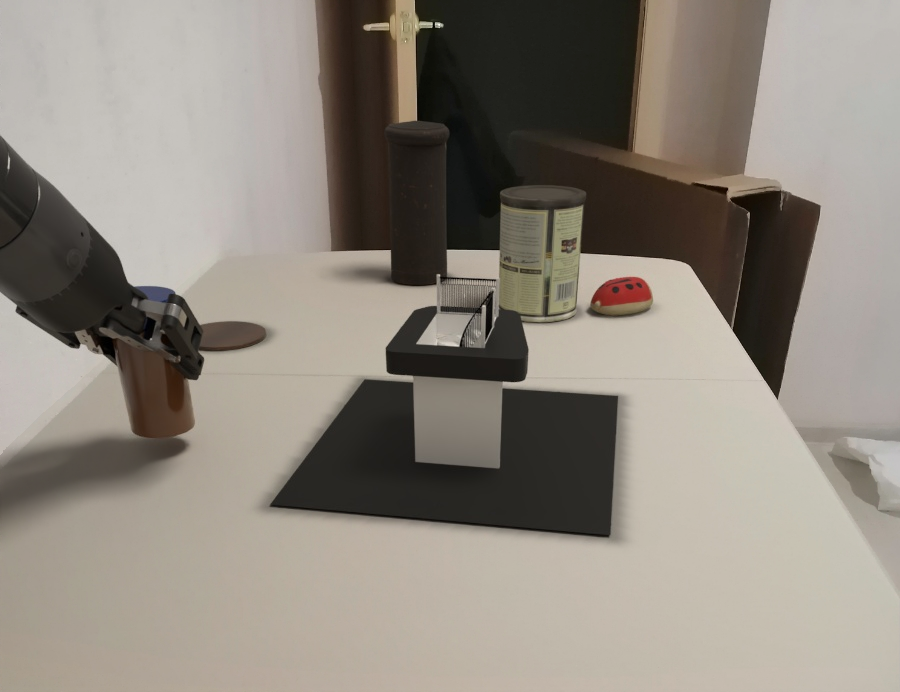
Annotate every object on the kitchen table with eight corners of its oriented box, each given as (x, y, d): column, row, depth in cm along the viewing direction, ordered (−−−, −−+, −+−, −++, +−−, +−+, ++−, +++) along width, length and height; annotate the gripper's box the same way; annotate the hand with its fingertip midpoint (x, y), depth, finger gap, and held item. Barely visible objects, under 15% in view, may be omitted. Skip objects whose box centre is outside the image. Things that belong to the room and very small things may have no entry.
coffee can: (513, 296, 115) (518, 182, 107) (586, 305, 111) (597, 188, 103) (484, 316, 107) (486, 195, 99) (561, 327, 103) (570, 201, 95)
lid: (93, 328, 66) (87, 303, 65) (123, 308, 71) (118, 284, 70) (164, 331, 66) (159, 306, 65) (189, 310, 70) (185, 287, 69)
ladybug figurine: (664, 307, 111) (668, 278, 109) (618, 322, 105) (621, 293, 103) (622, 296, 115) (625, 269, 113) (576, 311, 109) (578, 282, 107)
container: (455, 272, 125) (456, 118, 114) (441, 288, 118) (440, 125, 107) (399, 269, 127) (394, 116, 116) (382, 284, 120) (375, 123, 108)
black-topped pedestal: (610, 536, 62) (632, 357, 54) (270, 506, 66) (246, 334, 58) (617, 397, 84) (634, 256, 77) (364, 380, 88) (356, 245, 81)
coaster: (167, 349, 97) (167, 346, 96) (196, 323, 105) (196, 320, 105) (253, 352, 96) (252, 348, 96) (275, 325, 104) (275, 322, 104)
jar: (120, 437, 71) (91, 309, 65) (145, 412, 76) (120, 291, 70) (182, 440, 71) (159, 312, 65) (204, 415, 76) (184, 293, 70)
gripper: (146, 204, 55) (251, 334, 71) (-39, 192, 58) (102, 319, 74) (116, 308, 54) (230, 416, 70) (-71, 291, 57) (80, 398, 73)
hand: (164, 366), depth 72 cm, fingers closed on jar, 5 cm apart
